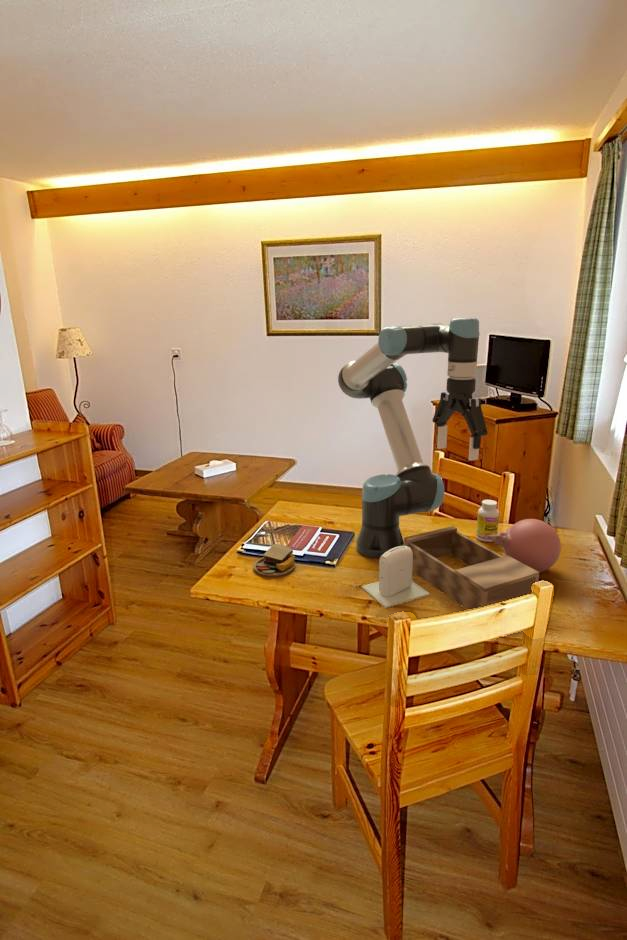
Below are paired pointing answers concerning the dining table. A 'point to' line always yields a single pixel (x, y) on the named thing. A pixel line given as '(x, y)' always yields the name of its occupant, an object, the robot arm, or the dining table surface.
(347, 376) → the robot arm
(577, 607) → the dining table surface
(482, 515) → the supplement bottle
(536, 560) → the pink rubber bulb
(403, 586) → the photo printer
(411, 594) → the felt mat
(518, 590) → the walnut box
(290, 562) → the toy sandwich meal
